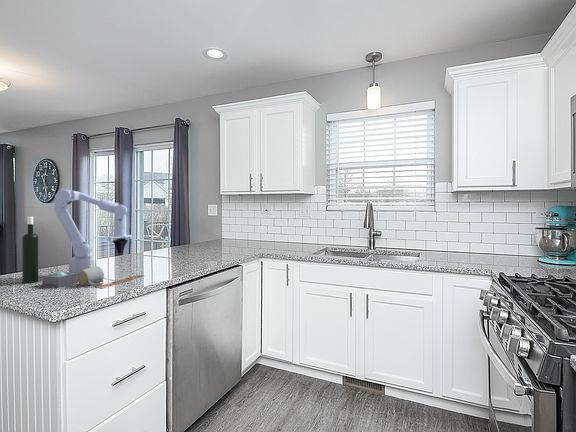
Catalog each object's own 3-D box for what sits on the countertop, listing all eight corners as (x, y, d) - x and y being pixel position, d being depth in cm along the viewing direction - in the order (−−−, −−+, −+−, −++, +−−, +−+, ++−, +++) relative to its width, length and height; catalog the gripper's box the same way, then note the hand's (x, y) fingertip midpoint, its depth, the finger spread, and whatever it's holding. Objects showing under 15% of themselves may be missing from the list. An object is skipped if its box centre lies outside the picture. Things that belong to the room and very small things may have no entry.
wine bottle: (36, 279, 152) (36, 216, 151) (40, 282, 148) (39, 216, 148) (20, 282, 148) (20, 216, 147) (24, 284, 144) (23, 216, 143)
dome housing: (42, 285, 142) (42, 275, 142) (61, 281, 150) (61, 271, 150) (58, 287, 140) (58, 277, 139) (76, 283, 148) (76, 273, 148)
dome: (49, 282, 143) (49, 272, 143) (60, 279, 148) (60, 269, 148) (59, 283, 142) (59, 273, 141) (70, 280, 147) (70, 270, 147)
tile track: (95, 287, 141) (95, 287, 141) (137, 275, 167) (137, 274, 167) (102, 288, 140) (102, 287, 140) (144, 276, 166) (144, 275, 166)
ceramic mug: (75, 285, 145) (76, 268, 144) (93, 281, 152) (93, 265, 152) (91, 288, 140) (91, 271, 140) (108, 284, 148) (109, 267, 147)
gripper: (116, 228, 163) (115, 255, 163) (136, 227, 177) (136, 251, 177) (104, 228, 164) (104, 254, 165) (125, 226, 179) (125, 251, 179)
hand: (120, 253), depth 171 cm, fingers closed
